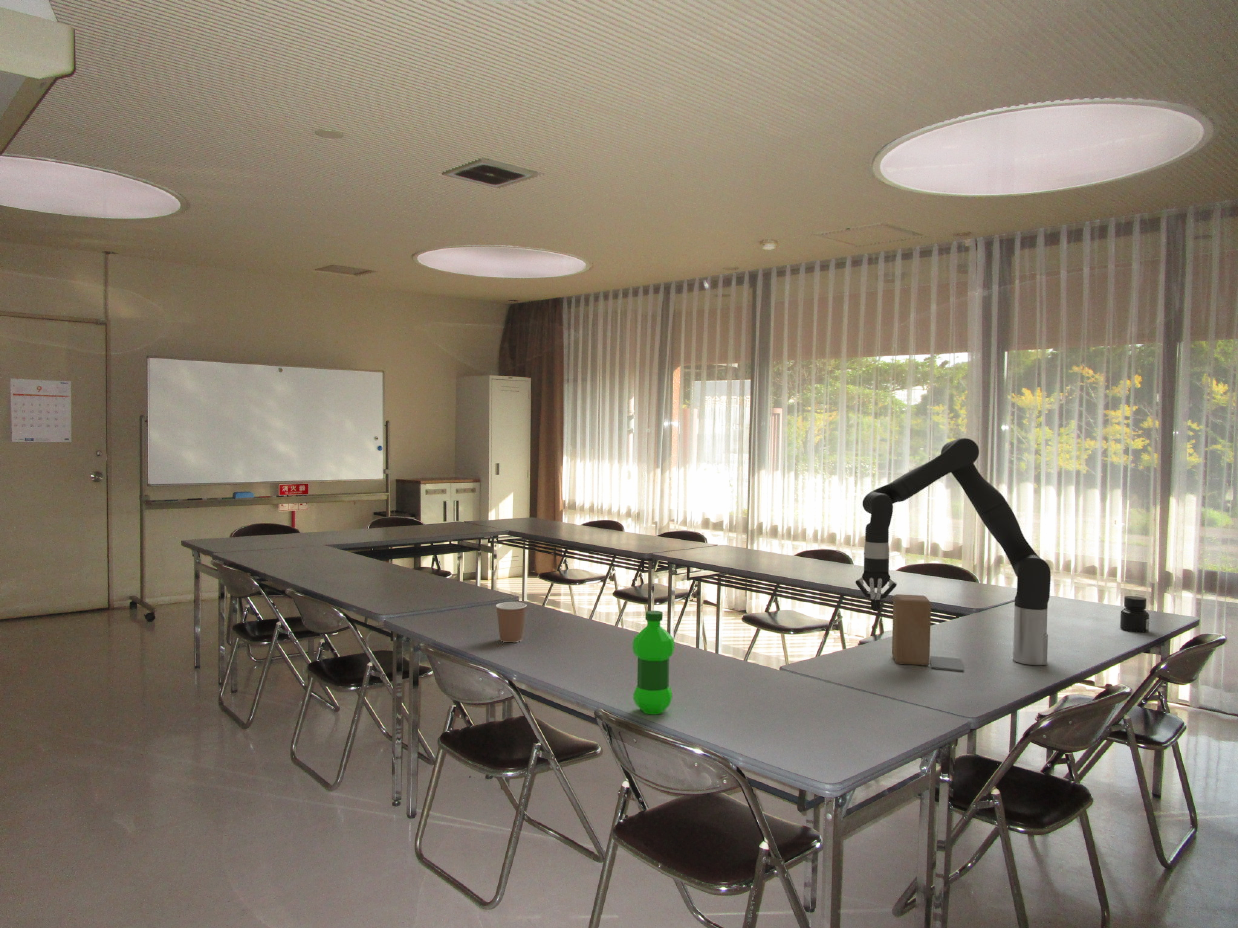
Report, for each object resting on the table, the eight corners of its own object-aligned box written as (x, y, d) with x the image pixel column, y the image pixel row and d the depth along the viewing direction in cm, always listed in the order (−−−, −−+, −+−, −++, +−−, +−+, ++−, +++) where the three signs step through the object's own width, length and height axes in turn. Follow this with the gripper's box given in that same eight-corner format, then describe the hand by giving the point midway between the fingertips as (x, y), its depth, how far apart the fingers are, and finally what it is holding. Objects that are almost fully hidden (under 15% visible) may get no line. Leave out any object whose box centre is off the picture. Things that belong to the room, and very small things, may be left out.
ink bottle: (1154, 633, 296) (1156, 600, 295) (1130, 633, 296) (1131, 600, 295) (1138, 627, 305) (1139, 595, 305) (1114, 626, 305) (1115, 594, 305)
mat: (961, 660, 257) (961, 658, 257) (963, 671, 245) (963, 669, 245) (930, 657, 260) (930, 655, 260) (931, 668, 248) (931, 666, 248)
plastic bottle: (676, 717, 203) (677, 616, 202) (633, 717, 202) (635, 616, 201) (670, 703, 212) (672, 608, 212) (630, 704, 212) (631, 608, 211)
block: (929, 666, 250) (931, 601, 249) (895, 664, 252) (897, 599, 251) (924, 657, 260) (926, 595, 259) (891, 655, 262) (893, 593, 261)
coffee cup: (529, 637, 280) (529, 602, 279) (522, 644, 269) (523, 608, 269) (499, 636, 281) (499, 601, 280) (492, 643, 270) (492, 607, 270)
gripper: (898, 555, 259) (897, 610, 260) (855, 553, 264) (854, 606, 265) (898, 559, 252) (897, 614, 253) (853, 556, 257) (852, 611, 257)
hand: (875, 610), depth 259 cm, fingers closed
